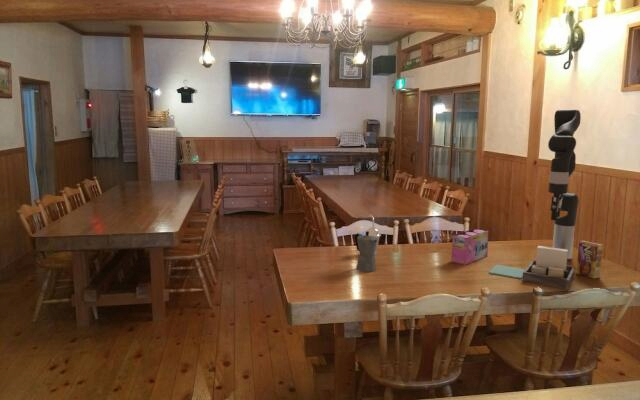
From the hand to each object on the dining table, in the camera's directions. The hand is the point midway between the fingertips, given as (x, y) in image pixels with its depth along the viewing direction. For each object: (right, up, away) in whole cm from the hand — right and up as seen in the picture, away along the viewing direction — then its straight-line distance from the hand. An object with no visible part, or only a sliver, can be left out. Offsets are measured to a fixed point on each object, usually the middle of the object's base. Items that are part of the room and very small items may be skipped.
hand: (555, 218), depth 214 cm
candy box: (+18, -26, +6) cm, 32 cm away
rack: (-3, -27, +1) cm, 27 cm away
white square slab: (0, -26, +4) cm, 27 cm away
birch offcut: (-2, -28, -5) cm, 28 cm away
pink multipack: (-28, -22, +31) cm, 47 cm away
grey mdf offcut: (-8, -27, -1) cm, 28 cm away
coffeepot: (-83, -24, +13) cm, 87 cm away
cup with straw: (-76, -20, +39) cm, 88 cm away
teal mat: (-17, -25, +10) cm, 32 cm away
